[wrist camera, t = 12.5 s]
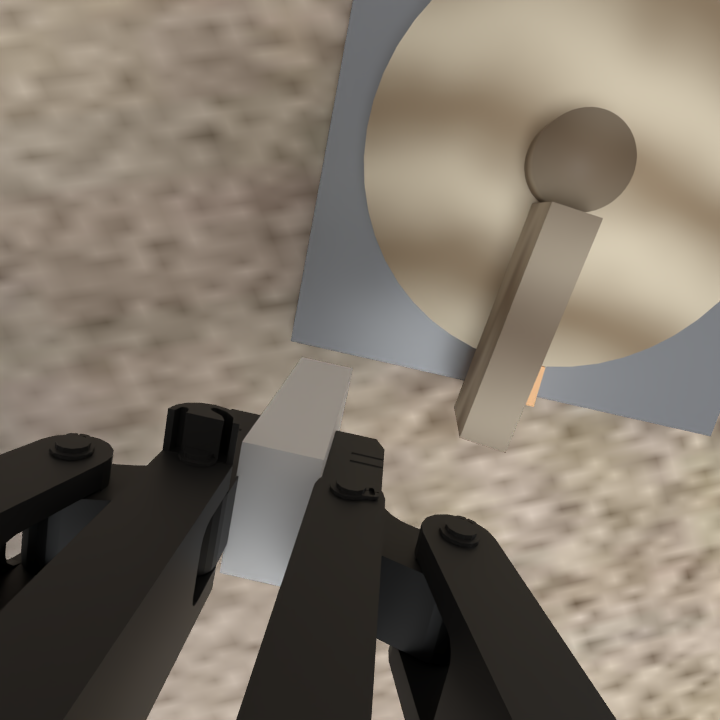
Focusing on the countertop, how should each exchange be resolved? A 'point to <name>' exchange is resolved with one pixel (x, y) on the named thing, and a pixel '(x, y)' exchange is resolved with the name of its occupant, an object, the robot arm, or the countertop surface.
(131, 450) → the countertop surface
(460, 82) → the beige rotary knob
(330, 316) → the dial base
